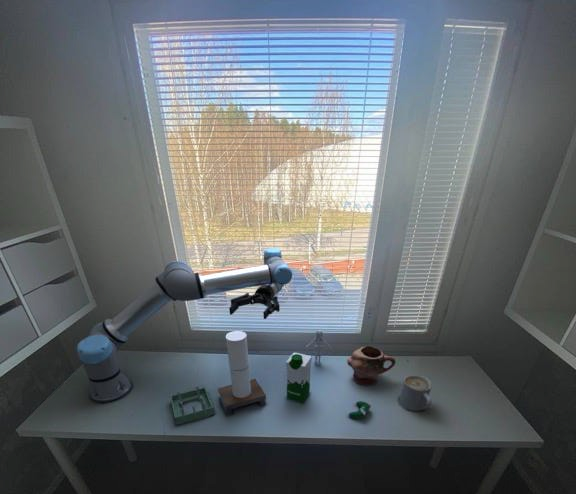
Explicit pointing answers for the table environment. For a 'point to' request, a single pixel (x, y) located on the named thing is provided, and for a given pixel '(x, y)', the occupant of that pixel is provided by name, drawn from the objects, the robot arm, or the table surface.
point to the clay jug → (368, 364)
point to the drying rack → (191, 396)
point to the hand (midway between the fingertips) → (247, 313)
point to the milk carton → (298, 376)
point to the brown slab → (232, 402)
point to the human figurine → (318, 345)
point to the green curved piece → (360, 410)
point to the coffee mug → (416, 393)
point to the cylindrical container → (238, 363)
